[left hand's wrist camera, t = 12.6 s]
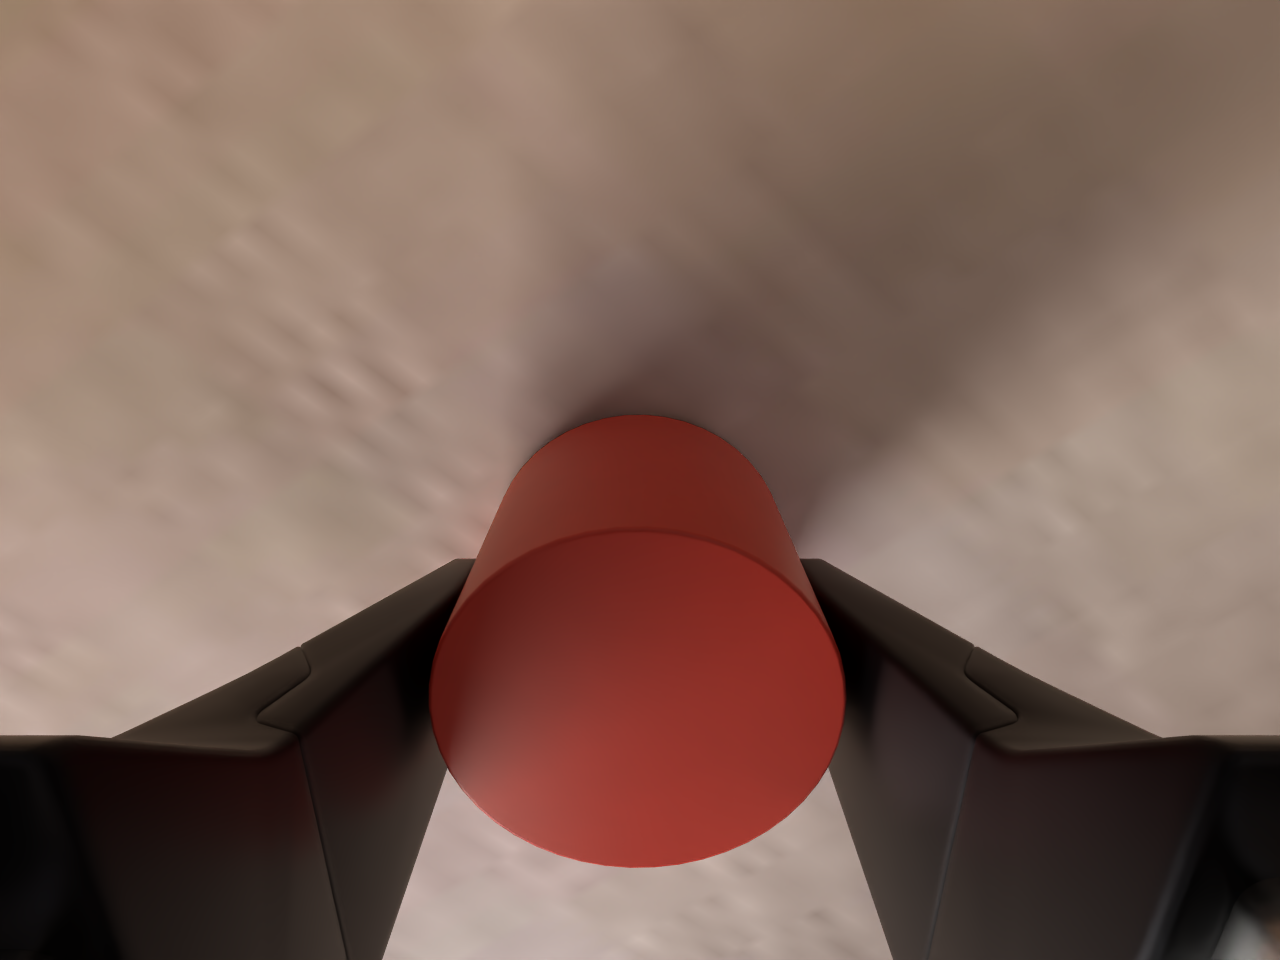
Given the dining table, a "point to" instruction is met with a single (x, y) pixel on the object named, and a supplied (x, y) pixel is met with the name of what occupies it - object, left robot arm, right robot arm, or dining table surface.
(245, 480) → the dining table surface
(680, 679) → the canister
